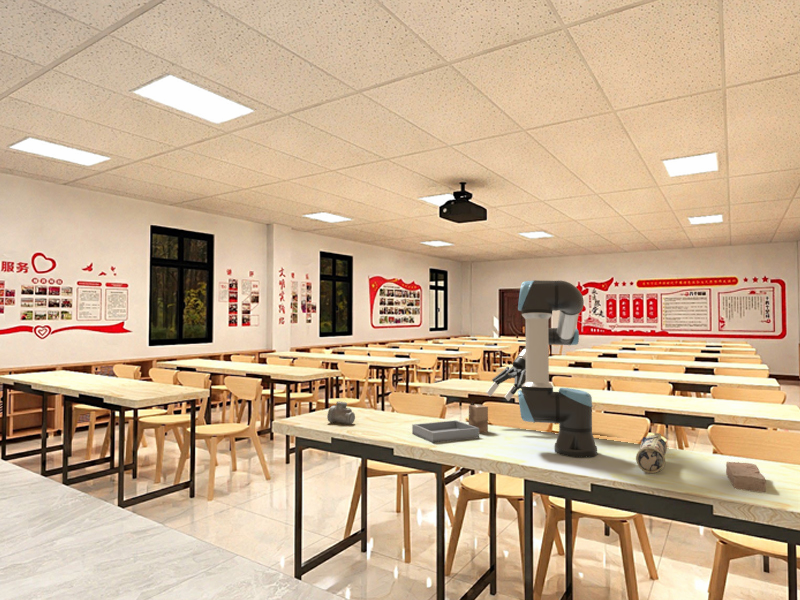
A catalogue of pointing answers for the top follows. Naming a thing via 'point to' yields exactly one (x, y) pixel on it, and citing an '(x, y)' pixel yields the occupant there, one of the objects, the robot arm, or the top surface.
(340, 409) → the pipe fitting
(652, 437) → the pencil case
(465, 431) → the tray
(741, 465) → the brick
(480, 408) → the bored block
